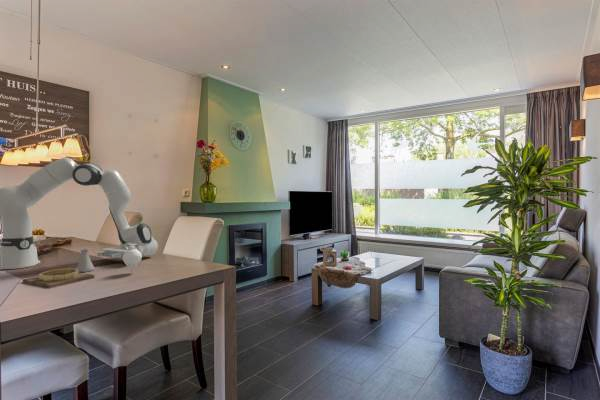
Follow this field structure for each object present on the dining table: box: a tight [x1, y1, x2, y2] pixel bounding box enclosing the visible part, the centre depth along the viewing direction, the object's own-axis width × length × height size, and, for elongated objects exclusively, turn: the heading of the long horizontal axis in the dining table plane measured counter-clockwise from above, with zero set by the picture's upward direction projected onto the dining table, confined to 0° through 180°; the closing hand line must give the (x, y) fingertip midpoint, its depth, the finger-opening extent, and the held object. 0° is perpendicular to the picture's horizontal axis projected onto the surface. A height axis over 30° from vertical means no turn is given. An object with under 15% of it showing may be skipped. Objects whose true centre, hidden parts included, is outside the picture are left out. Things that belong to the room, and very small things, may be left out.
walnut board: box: [22, 272, 95, 289], centre depth 140 cm, size 19×17×1 cm
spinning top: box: [122, 246, 143, 274], centre depth 151 cm, size 8×8×12 cm
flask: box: [75, 248, 96, 273], centre depth 156 cm, size 7×7×10 cm
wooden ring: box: [38, 268, 80, 281], centre depth 140 cm, size 13×13×2 cm
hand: (104, 255), depth 165 cm, fingers open, 8 cm apart
